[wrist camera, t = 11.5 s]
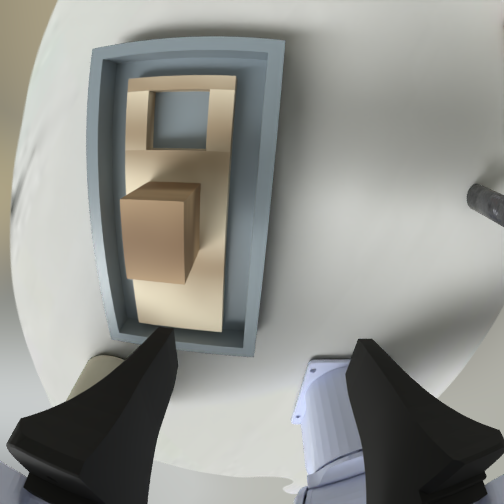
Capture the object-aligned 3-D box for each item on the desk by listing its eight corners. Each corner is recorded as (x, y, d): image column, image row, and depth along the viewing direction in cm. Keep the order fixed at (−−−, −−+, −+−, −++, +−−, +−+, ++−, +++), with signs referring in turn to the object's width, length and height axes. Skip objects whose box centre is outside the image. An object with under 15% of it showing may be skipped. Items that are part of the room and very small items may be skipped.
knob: (483, 211, 18) (519, 232, 14) (461, 206, 18) (498, 227, 14) (488, 187, 17) (526, 204, 13) (467, 180, 17) (506, 197, 13)
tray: (254, 334, 22) (253, 357, 20) (122, 319, 22) (111, 339, 20) (281, 51, 14) (285, 40, 12) (111, 55, 14) (92, 48, 12)
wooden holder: (136, 81, 14) (93, 69, 10) (237, 79, 15) (229, 60, 10) (143, 312, 21) (120, 360, 16) (223, 321, 21) (215, 374, 16)
